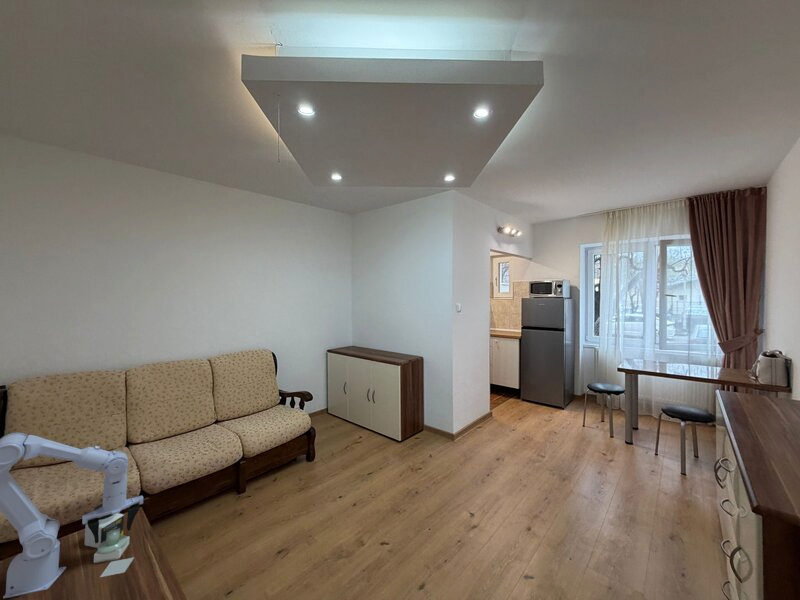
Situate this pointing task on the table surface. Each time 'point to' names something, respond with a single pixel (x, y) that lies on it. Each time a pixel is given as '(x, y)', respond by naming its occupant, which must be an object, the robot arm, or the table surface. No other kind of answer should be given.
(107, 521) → the medicine bottle
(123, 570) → the mat
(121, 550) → the dish
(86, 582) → the table surface
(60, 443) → the robot arm
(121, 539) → the lid
